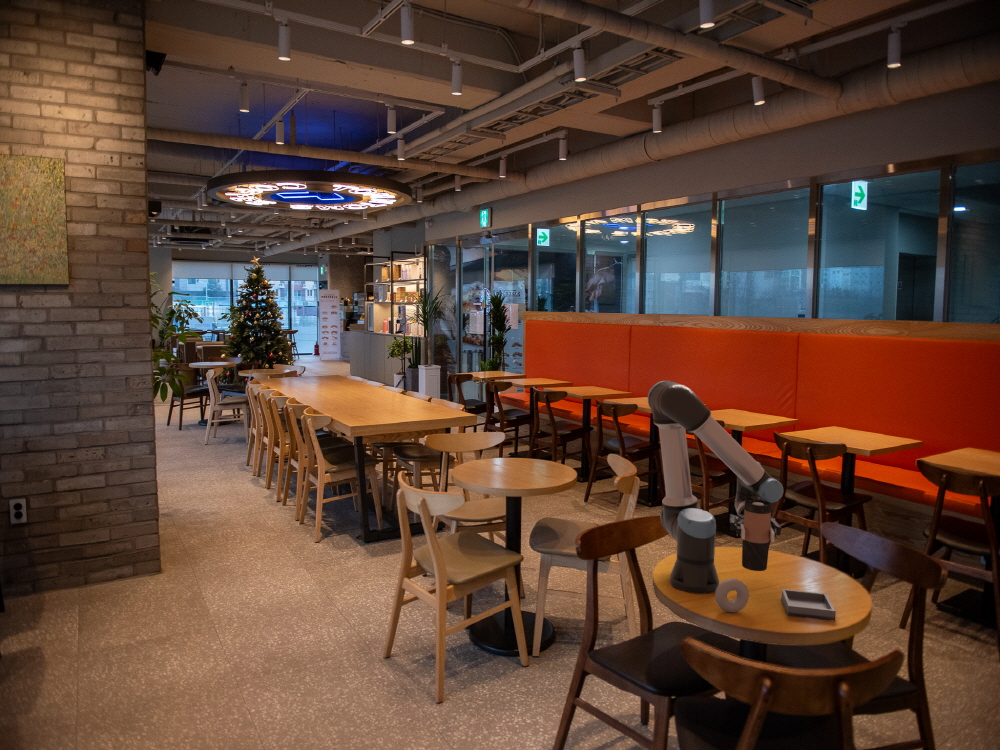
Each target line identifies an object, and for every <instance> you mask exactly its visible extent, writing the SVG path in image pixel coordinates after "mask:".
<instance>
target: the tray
mask: <svg viewBox="0 0 1000 750" xmlns="http://www.w3.org/2000/svg"><path fill="white" fill-rule="evenodd" d="M780 599H781V602H782V605H783V608H784V609H785V612H786V614H787V616H788V617H795V618H804V619H812V620H821V621H830V620H833V621H832V622H836V614H837V613H836V611H837V610H836V609H835V607H834V605H833V603H832V602H831V599H830V597H829V596H828V594H827V593H825V592H824V593H823V592H815V591H806V590H796V589H795V590H794V589H787V588H781V597H780Z"/></svg>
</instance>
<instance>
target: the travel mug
mask: <svg viewBox="0 0 1000 750" xmlns="http://www.w3.org/2000/svg"><path fill="white" fill-rule="evenodd" d="M771 518H772V503H771V502H768V501H764V500H762V499H760V498H759V499H755V500H753V501H748V500H745V509H744V523H743V526H744V528H745V540H744V539H742V538H741V541H742V545H741V547H742V549H741V550H742V551H741V566H742V567H743V568H745V569H747V570H750V571H755V572H765V571H766V570H767V569H768V561H769V560H768V559H769V550H770V549H769V548H770V542H771V540H770V521H771Z"/></svg>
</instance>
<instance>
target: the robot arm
mask: <svg viewBox="0 0 1000 750" xmlns="http://www.w3.org/2000/svg"><path fill="white" fill-rule="evenodd" d="M647 404H648V406H649V408H650V410H651V411H652V419H653V424H654V425H655V426H657V427H658V432H659V433H658V434H659V440H660V441H659V443H660V451H661V459H662V470H663V478H664V490H665V496H664V498H663V499H662V503H661V504H662V508H661V510H660V516H659V518H660V522H661V525H662V527H663V528H664V530H665V531H666V532H667V534H669V535H670V536H671V537H672V538H673V539H674V540H675V541H676V560H675V562H674V565H673V568H672V570H671V573H670V574H669V575H670V578H669V582H670V585H671V584H672V585H673V586H672V585H671V586H672V587H674V588H675V589H677V590H679V591H683V592H686V593H690V594H702V595H704V594H711V593H715V592H716V589H717V587H718V585H719V584H720V580H719V576H718V573H717V568H716V564H715V553H716V550H715V549H716V533H717V524H716V523H717V522H716V518H715V516H714V515H713V514H712V513H711V512H709V511H706V510H703V509H701V508H699V503H698V497H696V496H695V495H693V490H692V481H691V480H692V479H691V472H690V471H691V469H690V461H689V452H688V440H687V432H688V433H693V434H694V435H695V436H697V438H698V439H700V441H701V442H702V443H703V444H705V446H707V448H709V450H711V451H712V452H713V453H714V455H716V457H718V458H719V459H720V461H722V462H723V464H724V465H726V467H728V469H730V470H731V471H732V472H733V473H734V474H735V476H736V493H735V499H734V509H735V512H736V513H737V515H734V514H733V513H730V514H729V531H731V532H734V530H735V534H736V535H740V537H741V540H742V539H744V540H745V528H744V526H743V523H744V509H745V500H748V501H753V500H755V499H759V500H764V501H768V502H770V503H771V504H772V503H776V502H778V501H779V500H781V498H782V497H783V494H784V487H783V484H782V483H781V482H780V481H779V480H778V479H776V478H774V477H773V476H771V474H769V473H768V471H766V470H765V469H764V467H762V463H761V462H759V461H757V460H756V459H755V458H753V456H752V455H750V453H749V452H747V450H746V449H745V448H743V447H742V446H741V445H740V443H739V442H738V441H737V440H736V439H735V438H733V436H732V435H731V434H729V432H728V431H727V430H726V429H725V428H724V427H723V426H722V425H720V423H719V422H718V421H716V419H714V418H713V416H712V410H710V409H709V408H708V407H707V406H706V405H705V403H704V402H703V401H702V400H701V399H700V398H699V397H698V395H697V394H696V393H695V392H694V391H693V390H692V389H691V388H690V387H688V386H686V385H684V384H681V383H677V382H676V381H673V380H661V381H658V382H656V383H654V385H652V387H651V388H650V389H649V391H648V393H647ZM781 535H782V526H781V525H780V524H779V523H778V522H777V521H776V518H774V517H771V521H770V543H775V538H777V536H781Z"/></svg>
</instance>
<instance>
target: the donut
mask: <svg viewBox="0 0 1000 750" xmlns="http://www.w3.org/2000/svg"><path fill="white" fill-rule="evenodd" d="M731 591H734V592H736V597H735V598H734V599H733V600H732V599H731V600H729V599H728V594H729V593H730V592H731ZM749 598H750V591H749V589H748V586H747V585H746V584H745V583H744V582H743V581H741V580H739V579H737V578H727V579H724V580H722V581H720V582H719V585H718V587H717V589H716V591H715V592H714V599H715V602H716V604H717V607H719V608H720V609H721V610H722V611H724V612H727V613H737V612H740V611H741V610H743V609H744V608H745V607H746V606H747V604H748V602H749V600H750V599H749Z"/></svg>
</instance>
